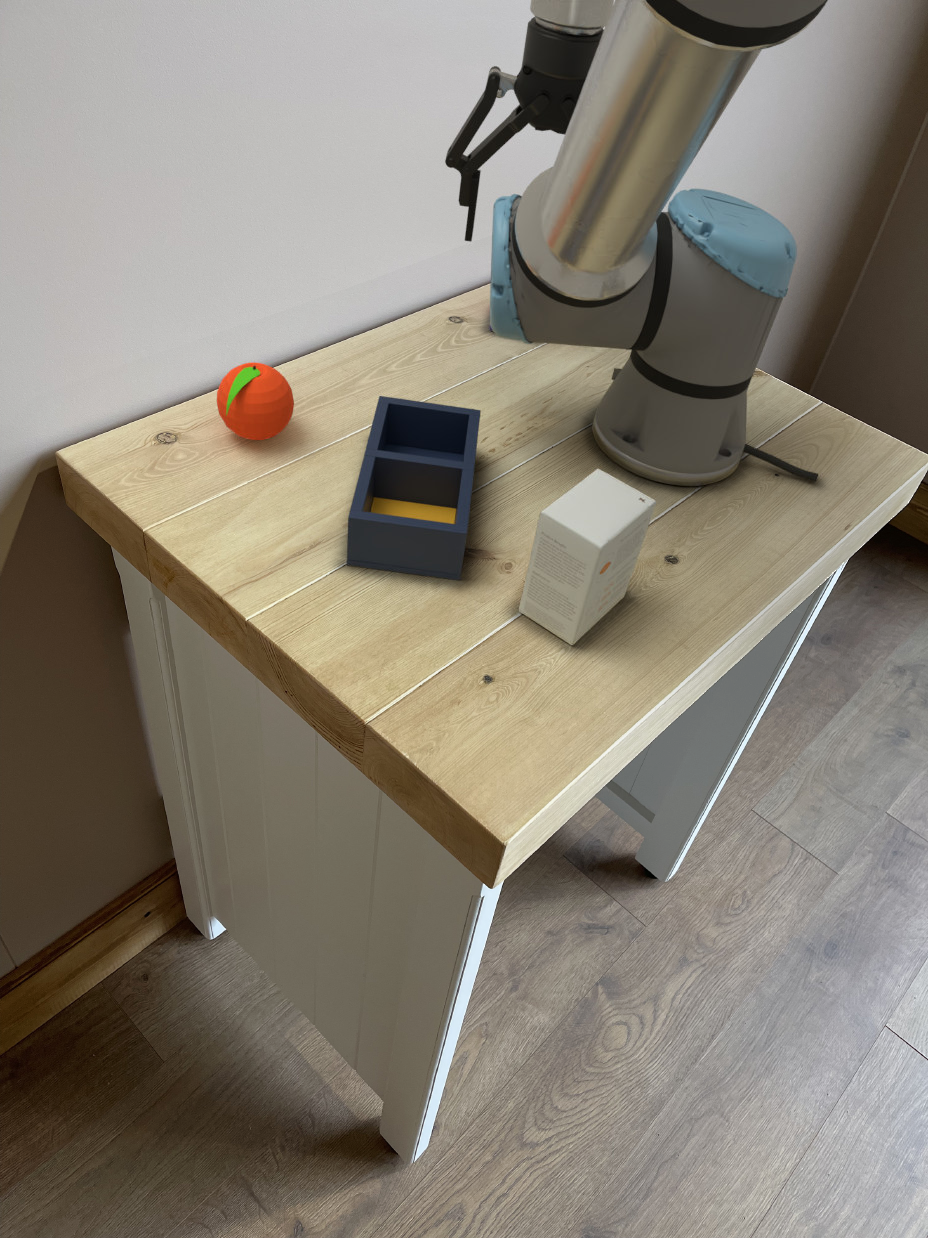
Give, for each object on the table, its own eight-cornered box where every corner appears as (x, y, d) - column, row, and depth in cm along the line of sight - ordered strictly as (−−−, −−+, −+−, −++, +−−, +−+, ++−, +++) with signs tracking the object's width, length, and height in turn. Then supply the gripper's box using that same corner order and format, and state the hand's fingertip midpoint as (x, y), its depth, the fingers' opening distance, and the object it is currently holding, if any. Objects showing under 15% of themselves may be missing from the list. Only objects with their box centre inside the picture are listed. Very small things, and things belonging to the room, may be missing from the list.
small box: (571, 565, 79) (598, 465, 71) (625, 598, 77) (659, 499, 69) (515, 611, 74) (538, 509, 66) (571, 648, 72) (602, 547, 64)
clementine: (262, 470, 83) (259, 401, 78) (197, 445, 84) (190, 376, 79) (308, 427, 88) (308, 361, 83) (246, 404, 90) (242, 338, 85)
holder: (376, 441, 88) (379, 395, 84) (473, 455, 88) (480, 409, 85) (346, 565, 75) (348, 517, 72) (459, 580, 76) (467, 533, 72)
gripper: (695, 32, 89) (639, 247, 104) (439, -9, 88) (421, 214, 103) (704, 54, 84) (643, 277, 99) (432, 11, 83) (413, 242, 98)
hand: (530, 245), depth 101 cm, fingers open, 13 cm apart
